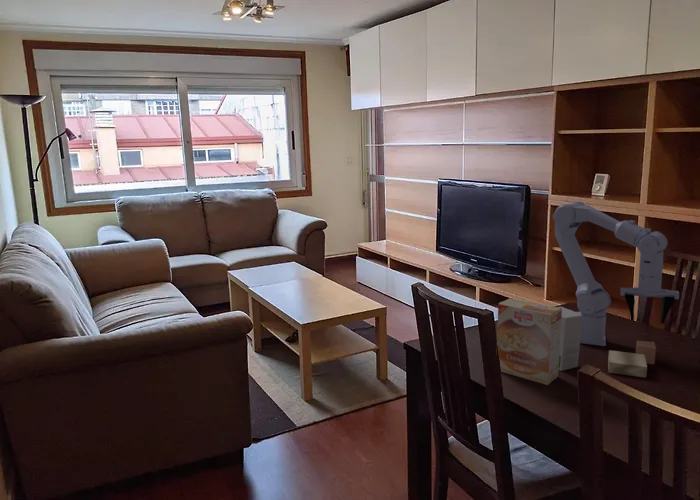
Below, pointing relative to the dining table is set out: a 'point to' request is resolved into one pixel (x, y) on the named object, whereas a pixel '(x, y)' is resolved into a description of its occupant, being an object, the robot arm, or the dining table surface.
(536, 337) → the coffeecake box
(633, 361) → the beech slab
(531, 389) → the dining table surface
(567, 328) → the skincare box
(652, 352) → the terracotta block
